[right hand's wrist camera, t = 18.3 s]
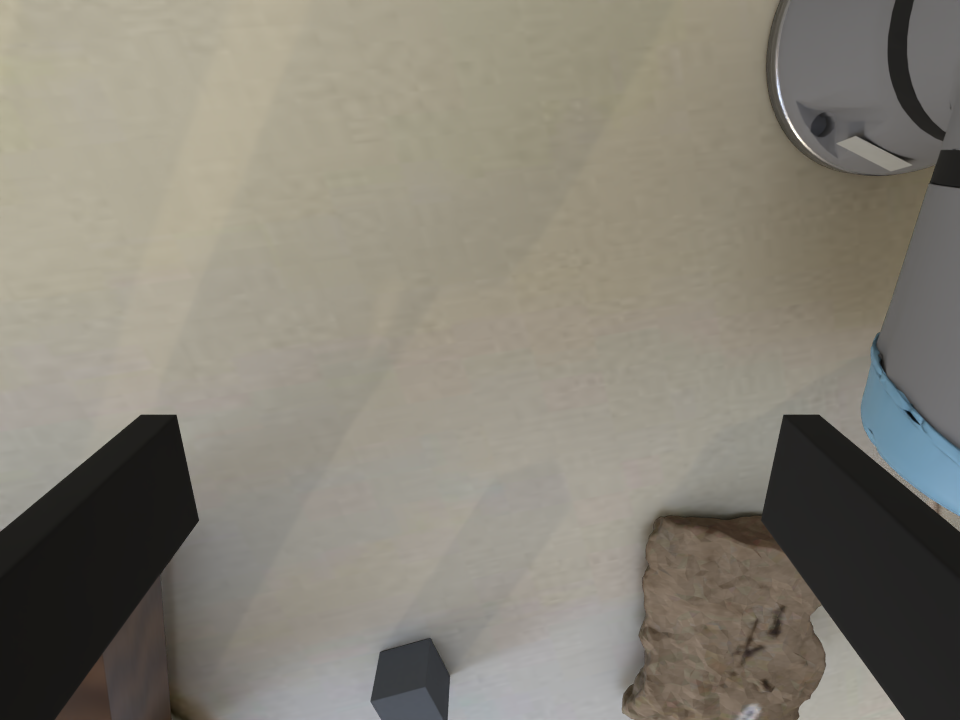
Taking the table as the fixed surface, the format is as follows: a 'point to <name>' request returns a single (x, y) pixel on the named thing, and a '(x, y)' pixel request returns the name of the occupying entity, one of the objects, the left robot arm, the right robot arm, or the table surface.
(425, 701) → the block
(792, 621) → the stone
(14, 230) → the table surface
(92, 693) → the bar
